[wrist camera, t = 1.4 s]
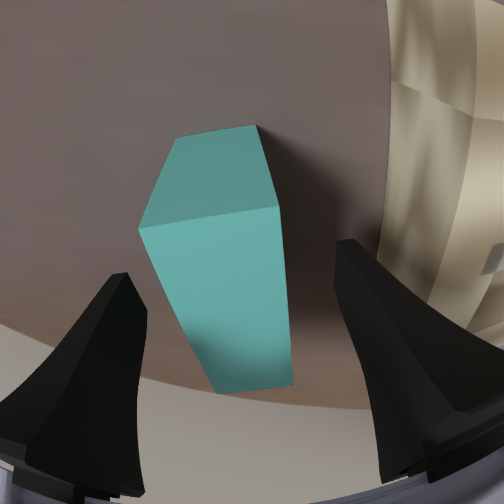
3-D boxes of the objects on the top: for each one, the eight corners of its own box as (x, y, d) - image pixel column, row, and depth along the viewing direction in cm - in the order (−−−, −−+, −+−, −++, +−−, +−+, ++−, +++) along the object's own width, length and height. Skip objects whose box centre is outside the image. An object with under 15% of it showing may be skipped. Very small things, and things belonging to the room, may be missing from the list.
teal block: (274, 279, 16) (292, 385, 11) (217, 287, 16) (217, 393, 11) (255, 124, 11) (278, 206, 6) (176, 138, 11) (137, 228, 6)
